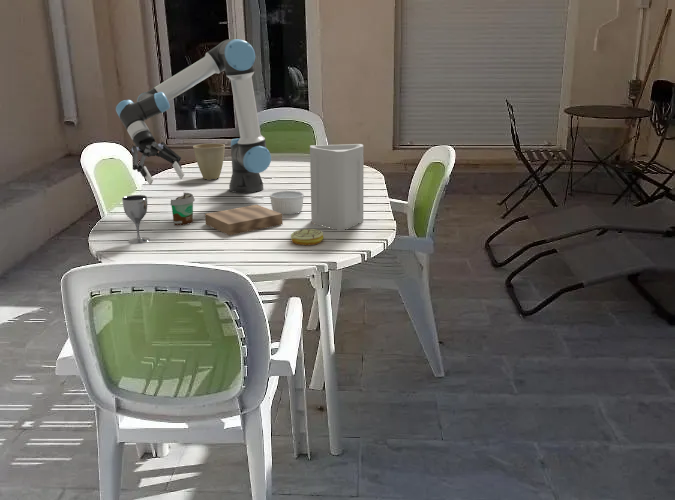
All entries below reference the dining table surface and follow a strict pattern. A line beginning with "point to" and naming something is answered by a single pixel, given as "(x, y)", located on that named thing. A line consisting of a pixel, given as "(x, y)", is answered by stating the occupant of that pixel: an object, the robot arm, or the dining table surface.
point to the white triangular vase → (337, 185)
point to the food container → (183, 209)
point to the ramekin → (287, 201)
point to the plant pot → (210, 159)
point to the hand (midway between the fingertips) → (167, 179)
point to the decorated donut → (307, 236)
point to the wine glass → (136, 213)
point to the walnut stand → (243, 219)
